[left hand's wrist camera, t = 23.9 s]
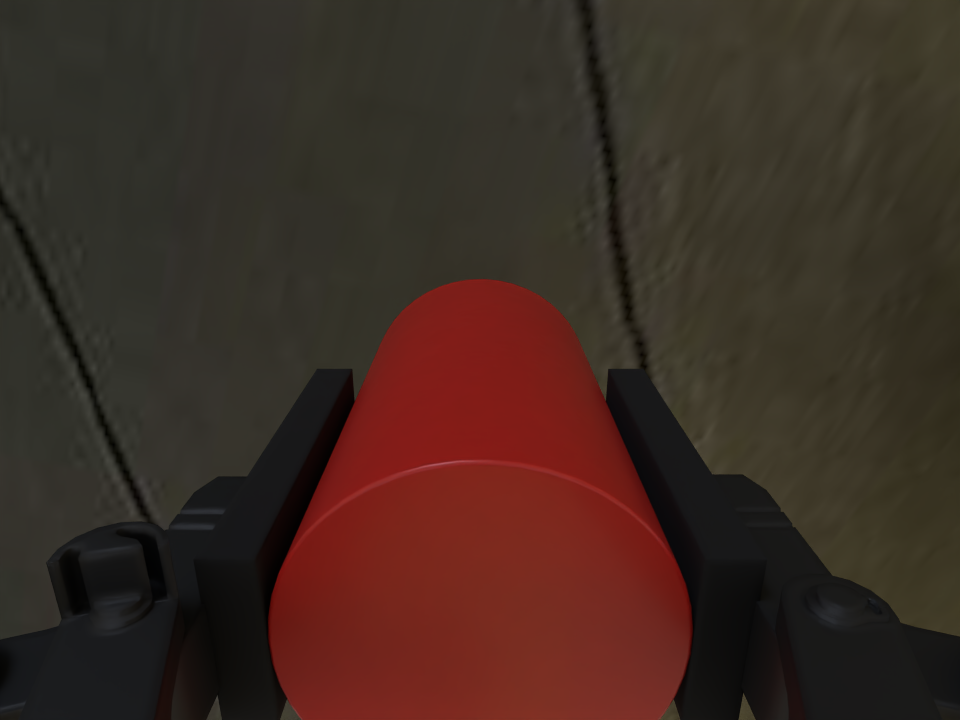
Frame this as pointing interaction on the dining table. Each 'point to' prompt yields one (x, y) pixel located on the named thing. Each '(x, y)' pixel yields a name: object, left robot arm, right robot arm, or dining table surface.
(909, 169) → the dining table surface
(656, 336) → the dining table surface
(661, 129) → the dining table surface
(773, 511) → the left robot arm
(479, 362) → the tin
